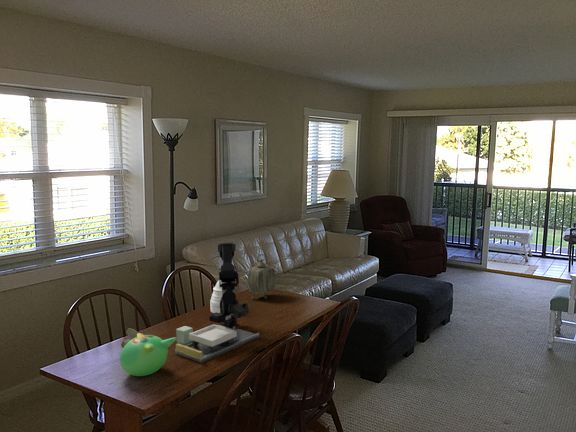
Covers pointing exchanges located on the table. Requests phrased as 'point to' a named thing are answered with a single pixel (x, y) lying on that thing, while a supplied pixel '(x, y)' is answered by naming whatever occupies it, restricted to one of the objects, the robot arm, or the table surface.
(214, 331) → the white square tray
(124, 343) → the grey angular piece
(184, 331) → the green block
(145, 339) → the green rounded figure
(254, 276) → the tabletop clock
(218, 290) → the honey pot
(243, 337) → the track
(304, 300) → the table surface
